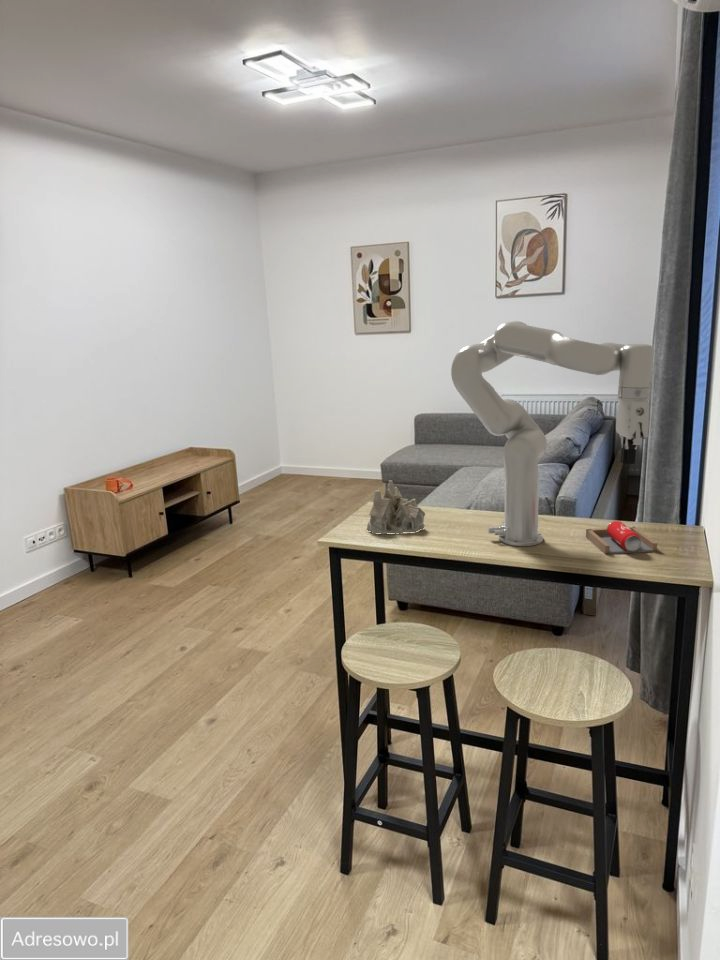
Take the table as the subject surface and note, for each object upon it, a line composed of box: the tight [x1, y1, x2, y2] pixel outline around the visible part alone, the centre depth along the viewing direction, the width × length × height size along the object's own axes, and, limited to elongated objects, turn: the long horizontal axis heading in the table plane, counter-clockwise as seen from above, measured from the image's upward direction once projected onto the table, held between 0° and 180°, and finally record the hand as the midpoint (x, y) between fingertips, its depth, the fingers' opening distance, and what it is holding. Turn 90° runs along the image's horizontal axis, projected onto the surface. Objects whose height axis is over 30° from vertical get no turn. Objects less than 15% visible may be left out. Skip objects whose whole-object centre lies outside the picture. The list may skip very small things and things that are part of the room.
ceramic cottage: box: [366, 479, 426, 534], centre depth 203 cm, size 16×16×15 cm
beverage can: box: [606, 520, 641, 551], centre depth 180 cm, size 5×5×12 cm
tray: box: [585, 526, 658, 555], centre depth 182 cm, size 14×14×2 cm
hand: (627, 463), depth 170 cm, fingers closed
